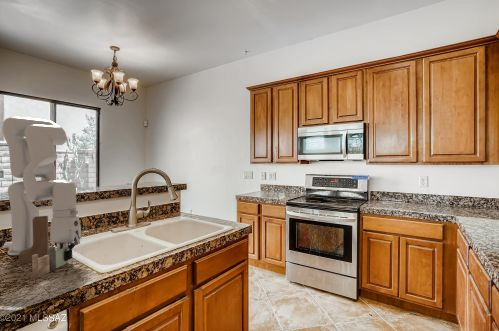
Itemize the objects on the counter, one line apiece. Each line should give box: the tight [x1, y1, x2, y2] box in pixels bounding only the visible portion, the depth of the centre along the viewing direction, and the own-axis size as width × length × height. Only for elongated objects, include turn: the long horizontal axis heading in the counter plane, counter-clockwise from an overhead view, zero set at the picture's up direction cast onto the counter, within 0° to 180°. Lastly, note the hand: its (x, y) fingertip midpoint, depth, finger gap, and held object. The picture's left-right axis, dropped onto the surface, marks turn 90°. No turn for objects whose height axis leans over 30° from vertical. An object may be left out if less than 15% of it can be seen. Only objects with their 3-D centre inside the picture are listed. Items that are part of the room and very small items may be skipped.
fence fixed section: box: [31, 246, 56, 280], centre depth 93 cm, size 8×2×9 cm, turn 173°
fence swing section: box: [55, 243, 69, 269], centre depth 100 cm, size 6×2×8 cm, turn 173°
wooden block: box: [18, 215, 50, 265], centre depth 105 cm, size 9×4×18 cm, turn 122°
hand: (65, 259), depth 102 cm, fingers closed on fence swing section
